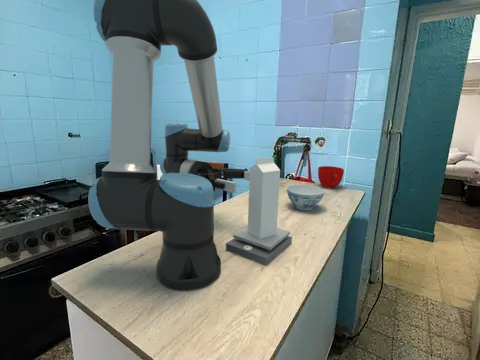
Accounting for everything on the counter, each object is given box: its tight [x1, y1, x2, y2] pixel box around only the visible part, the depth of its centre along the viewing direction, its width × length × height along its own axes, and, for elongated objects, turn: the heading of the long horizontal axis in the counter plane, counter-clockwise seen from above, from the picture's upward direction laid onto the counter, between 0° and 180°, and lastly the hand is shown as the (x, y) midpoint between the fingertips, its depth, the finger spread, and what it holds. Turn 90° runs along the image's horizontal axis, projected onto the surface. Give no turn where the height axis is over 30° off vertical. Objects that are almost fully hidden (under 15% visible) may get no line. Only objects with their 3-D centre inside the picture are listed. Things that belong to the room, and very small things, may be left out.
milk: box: [247, 156, 281, 239], centre depth 74 cm, size 6×6×22 cm
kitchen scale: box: [225, 225, 293, 266], centre depth 77 cm, size 15×13×4 cm
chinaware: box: [286, 184, 326, 211], centre depth 110 cm, size 15×15×8 cm
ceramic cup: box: [317, 165, 345, 189], centre depth 140 cm, size 13×17×10 cm
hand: (249, 182), depth 77 cm, fingers open, 13 cm apart
